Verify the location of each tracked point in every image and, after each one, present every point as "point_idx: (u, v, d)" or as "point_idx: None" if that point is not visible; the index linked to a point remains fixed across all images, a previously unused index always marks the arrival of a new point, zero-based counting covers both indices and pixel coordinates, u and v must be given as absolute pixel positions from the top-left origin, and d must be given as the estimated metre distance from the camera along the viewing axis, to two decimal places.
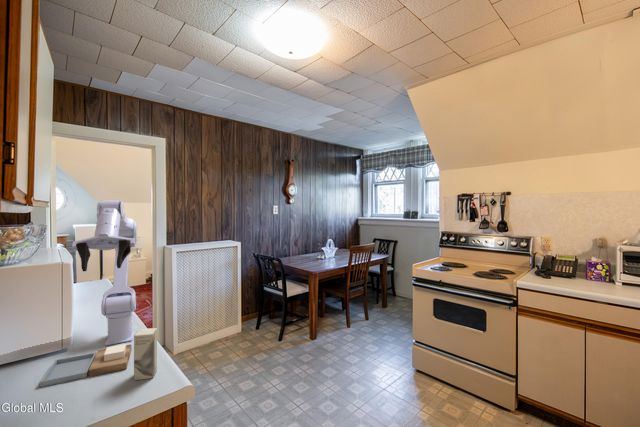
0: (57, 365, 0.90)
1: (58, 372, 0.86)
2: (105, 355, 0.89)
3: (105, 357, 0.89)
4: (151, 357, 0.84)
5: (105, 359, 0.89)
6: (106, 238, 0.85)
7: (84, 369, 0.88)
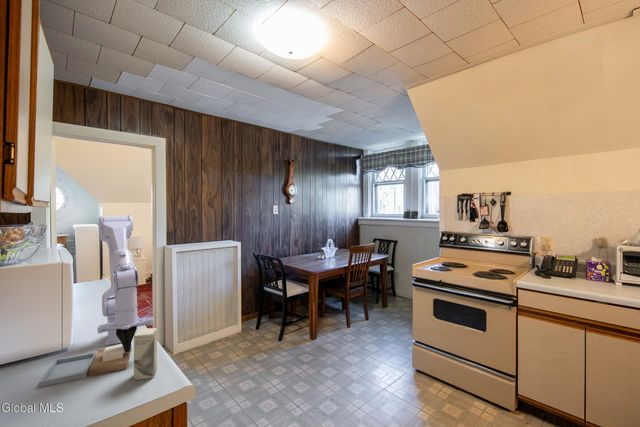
0: (57, 365, 0.90)
1: (58, 372, 0.86)
2: (104, 355, 0.89)
3: (104, 357, 0.89)
4: (151, 357, 0.84)
5: (104, 359, 0.89)
6: None
7: (84, 369, 0.88)
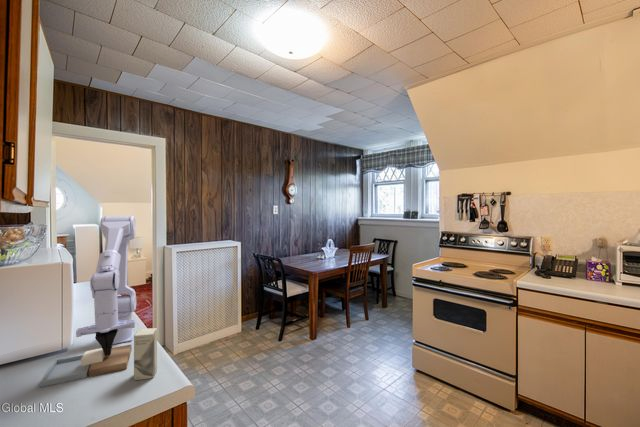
0: (57, 365, 0.90)
1: (58, 372, 0.86)
2: (82, 360, 0.87)
3: (82, 362, 0.87)
4: (151, 357, 0.84)
5: (82, 364, 0.87)
6: None
7: (84, 369, 0.88)
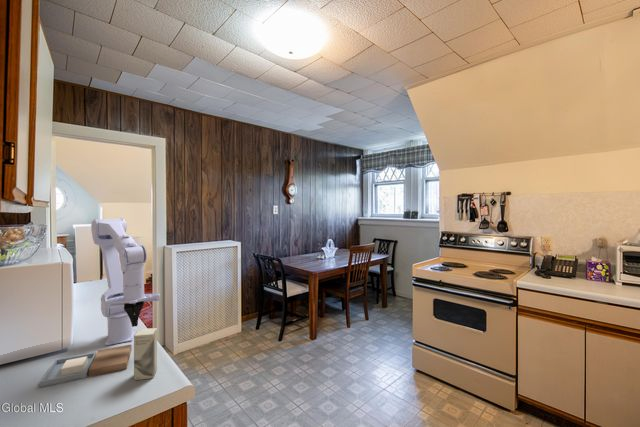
0: (57, 365, 0.90)
1: (58, 372, 0.86)
2: (62, 369, 0.85)
3: (62, 371, 0.85)
4: (151, 357, 0.84)
5: (62, 373, 0.85)
6: None
7: (84, 369, 0.88)
